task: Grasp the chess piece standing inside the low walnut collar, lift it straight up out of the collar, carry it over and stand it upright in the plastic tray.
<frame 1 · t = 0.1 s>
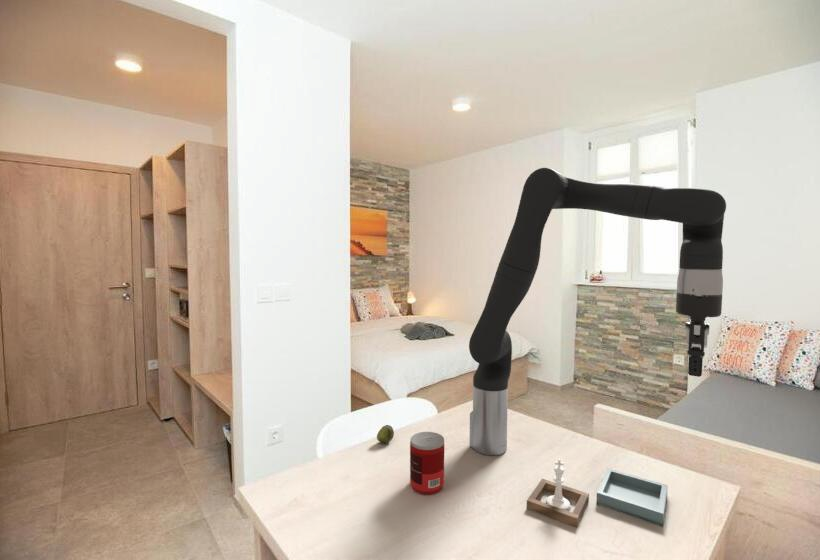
hand: (695, 370, 83), 29 cm above the table, fingers open, 8 cm apart
canned food: (427, 486, 93), on the table
collar: (558, 505, 86), on the table
chess piece: (558, 506, 86), resting in collar
lime: (385, 443, 114), on the table
tray: (632, 500, 87), on the table
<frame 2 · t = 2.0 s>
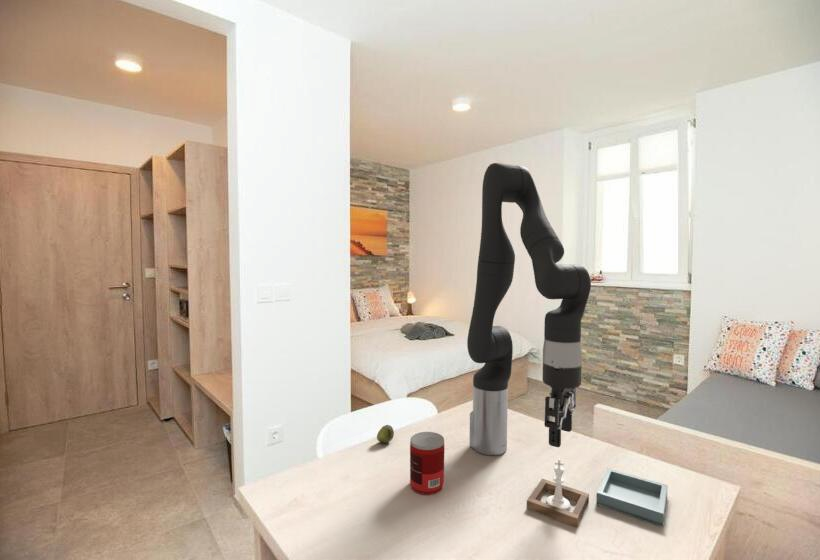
hand: (560, 437, 85), 15 cm above the table, fingers open, 8 cm apart
nothing on the table moved.
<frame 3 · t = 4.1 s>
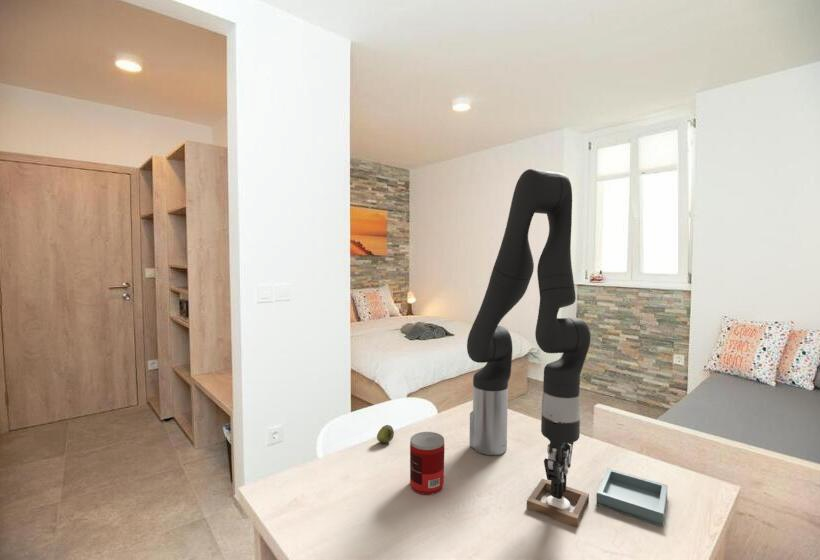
hand: (558, 493, 85), 3 cm above the table, fingers closed on chess piece
chess piece: (558, 506, 86), resting in collar, touching gripper
everything else where it was.
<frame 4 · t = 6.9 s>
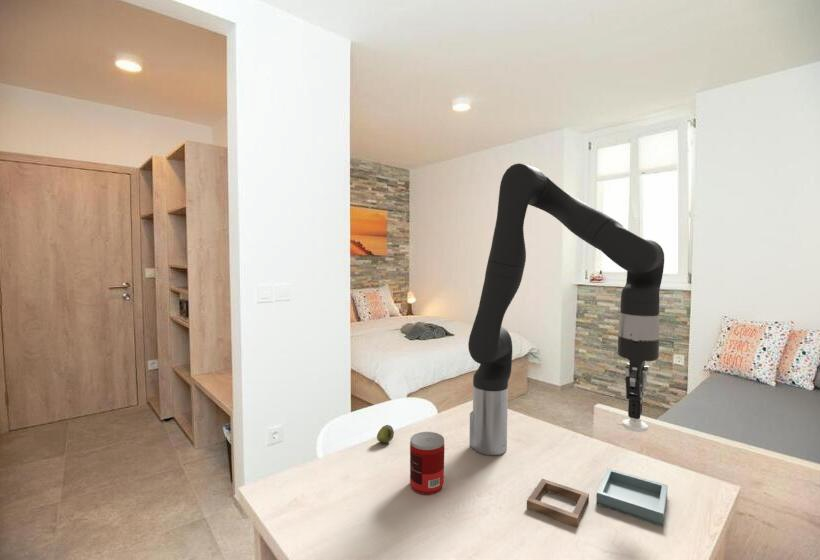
hand: (635, 415, 86), 19 cm above the table, fingers closed on chess piece
chess piece: (634, 428, 86), point 16 cm above the table, touching gripper
everything else where it was.
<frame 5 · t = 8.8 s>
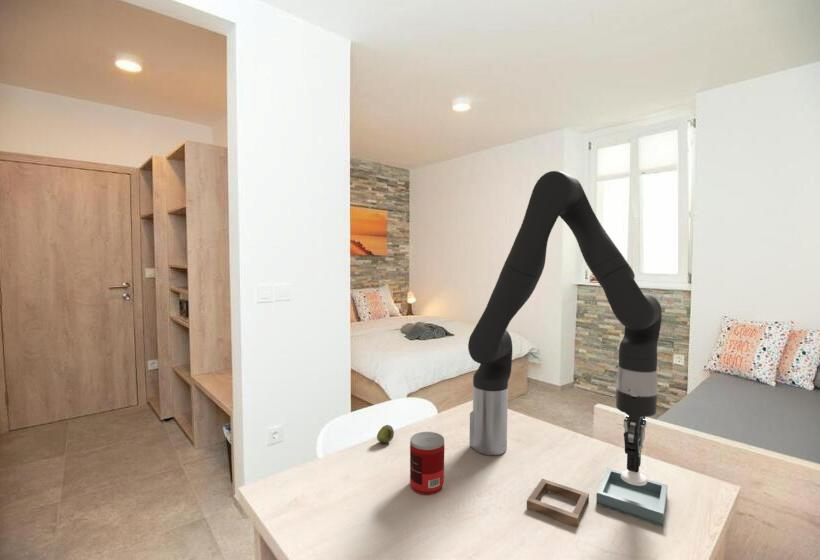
hand: (633, 467, 87), 7 cm above the table, fingers closed on chess piece
chess piece: (633, 480, 87), point 4 cm above the table, touching gripper
everything else where it was.
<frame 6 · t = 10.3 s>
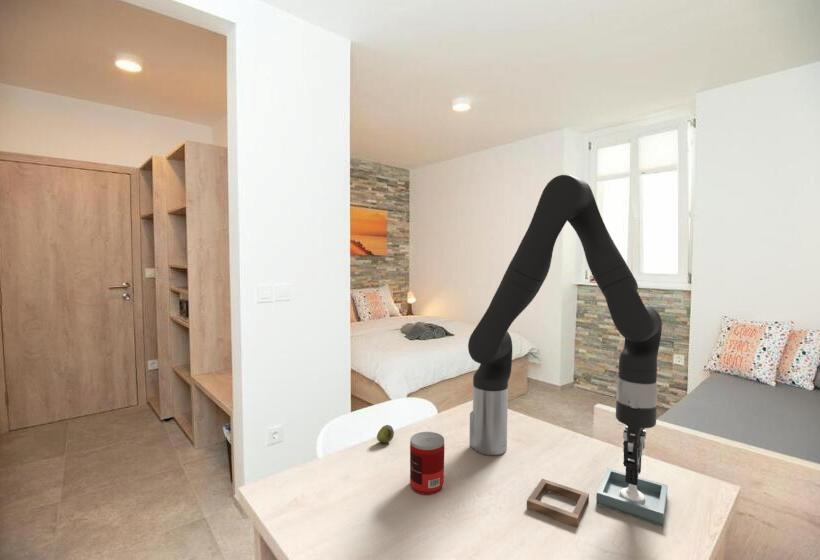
hand: (633, 477, 87), 5 cm above the table, fingers open, 4 cm apart
chess piece: (632, 498, 87), resting on tray
everything else where it was.
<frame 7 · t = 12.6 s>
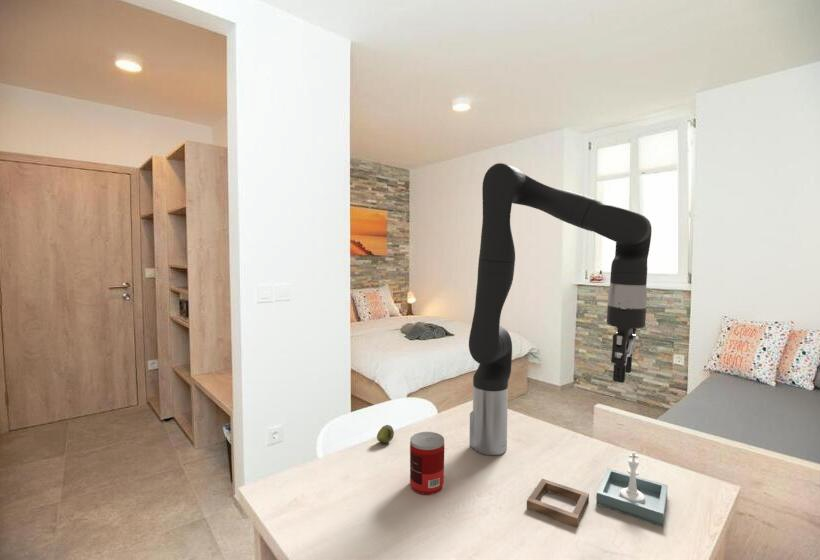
hand: (622, 376, 90), 26 cm above the table, fingers open, 8 cm apart
nothing on the table moved.
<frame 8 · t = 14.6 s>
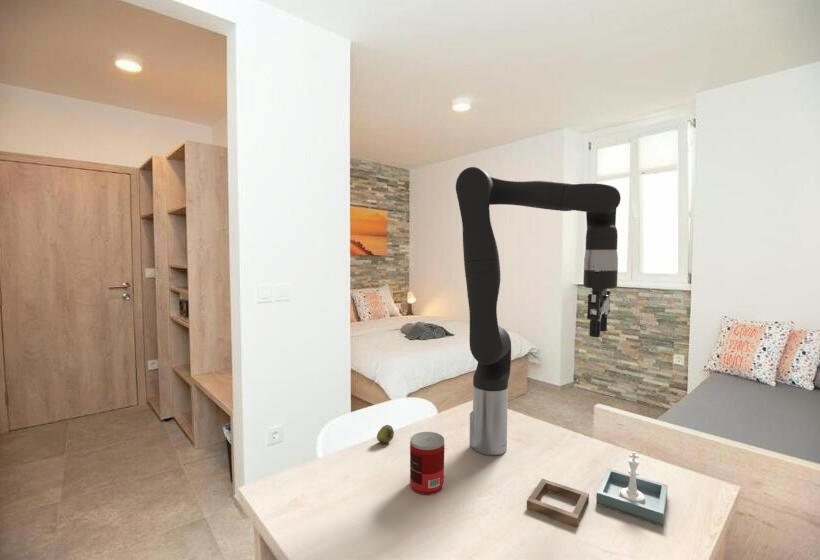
hand: (598, 333, 101), 33 cm above the table, fingers open, 8 cm apart
nothing on the table moved.
at the end: chess piece inside the target area on the tray (0.1 cm from its centre), point 0.4 cm above the tray's base; chess piece tilted 0°; the gripper is holding nothing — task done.
